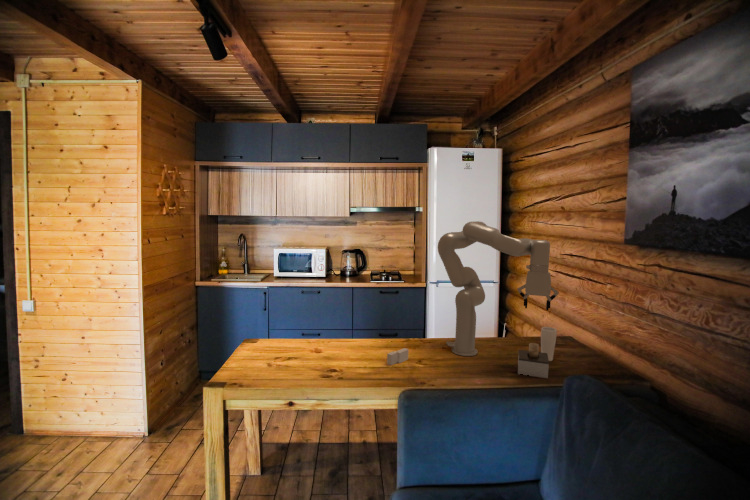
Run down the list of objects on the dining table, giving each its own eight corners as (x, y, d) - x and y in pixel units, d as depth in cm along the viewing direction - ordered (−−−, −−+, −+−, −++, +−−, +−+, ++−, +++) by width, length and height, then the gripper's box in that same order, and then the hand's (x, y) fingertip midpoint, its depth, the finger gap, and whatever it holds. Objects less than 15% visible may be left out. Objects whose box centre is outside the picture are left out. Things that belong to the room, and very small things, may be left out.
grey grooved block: (408, 357, 199) (408, 345, 198) (415, 366, 188) (416, 354, 187) (377, 358, 196) (378, 347, 195) (383, 368, 185) (383, 355, 184)
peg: (528, 358, 183) (529, 345, 182) (528, 355, 186) (529, 342, 186) (538, 360, 181) (539, 346, 181) (537, 356, 185) (538, 343, 184)
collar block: (517, 374, 181) (518, 358, 180) (517, 364, 192) (518, 349, 191) (547, 378, 177) (548, 362, 176) (546, 368, 188) (547, 353, 187)
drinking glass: (555, 362, 195) (558, 331, 194) (540, 361, 197) (542, 330, 195) (552, 357, 202) (555, 327, 200) (538, 356, 203) (540, 326, 202)
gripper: (517, 268, 179) (515, 308, 181) (562, 271, 174) (559, 312, 175) (517, 266, 186) (515, 304, 188) (560, 269, 181) (557, 308, 182)
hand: (536, 308), depth 182 cm, fingers open, 8 cm apart
